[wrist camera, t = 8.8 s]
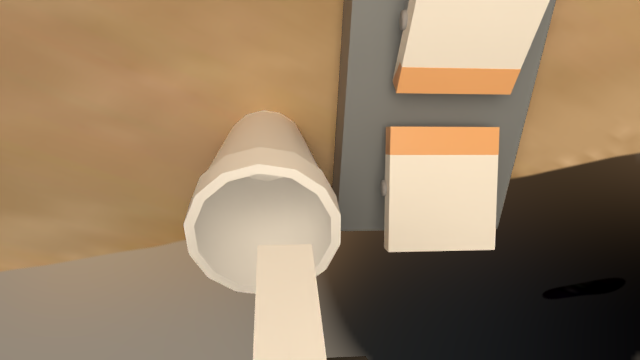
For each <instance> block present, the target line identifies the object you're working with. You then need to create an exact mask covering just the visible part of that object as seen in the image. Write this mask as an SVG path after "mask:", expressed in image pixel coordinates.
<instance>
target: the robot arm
mask: <svg viewBox="0 0 640 360" xmlns="http://www.w3.org/2000/svg"><path fill="white" fill-rule="evenodd" d="M318 297H319V296H318V289H317V282H316V273H315V265H314V257H313V249H312V244H298V245H257V269H256V294H255V319H254V345H253V360H368V359H367V358H366V356H362V357H337V358H326V351H325V343H324V335H323V328H322V320H321V312H320V305H319V298H318Z"/></svg>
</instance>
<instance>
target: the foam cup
mask: <svg viewBox="0 0 640 360" xmlns="http://www.w3.org/2000/svg"><path fill="white" fill-rule="evenodd" d="M184 231H185V236H186V242H187V248H188V252H189V255H190V256H191V257H192V259H193V260H194V261H195V262H196V264H198V266H199V267H200V268H201V270H202V271H203V272H204V273H205V275H206V276H207V277H208V278H210V279H212V280H214V281H216V282H218V283H220V284H222V285H224V286H226V287H228V288H230V289H232V290H234V291H236V292H244V293H253V294H256V269H257V245H298V244H312V249H313V257H314V265H315V273H316V276H317V275H319V274H320V273H322V272H323V271H325V270H326V269H327V267H328V265H329V263H330V261H331V260H332V258H333V256H334V254H335V253H336V251H337V249H338V248H339V246H340V243H341V242H340V241H341V239H340V238H341V237H340V236H341V214H340V210H339V206H338V202H337V197H336V195H335V193H334V191H333V189H332V188H331V186H330V184H329V182H328V181H327V179H326V177H325V175H324V173H323V172H322V170H321V169H319V168H318V166H317V164H316V162H315V160H314V158H313V156H312V154H311V152H310V150H309V148H308V146H307V144H306V142H305V140H304V138H303V136H302V135H301V133H300V131H299V129H298V128H297V126H296V124H295V123H294V122H293V121H292V120H290V119H289V118H287V117H286V116H284V115H283V114H281V113H277V112H271V111H265V110H262V111H258V112H254V113H251V114H247V115H245V116H244V117H243V118H242V119H241V120H240V121H238V122H237V123H236V124H235V125H234V126H233V127H232V129H231V131H230V132H229V134H228V136H227V138H226V139H225V141H224V143H223V144H222V146H221V148H220V150H219V151H218V153H217V155H216V157H215V158H214V160H213V162H212V163H211V165H210V167H209V169H208V170H207V171H206V172H205V173H204V174H202V175H201V176H200V178H199V181H198V183H197V186H196V188H195V191H194V193H193V196H192V199H191V201H190V204H189V207H188V211H187V214H186V218H185V221H184Z"/></svg>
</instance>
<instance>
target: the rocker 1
mask: <svg viewBox="0 0 640 360" xmlns="http://www.w3.org/2000/svg"><path fill="white" fill-rule="evenodd" d="M549 1H550V0H409V3H408V8H407V10H402V11H401V14H400V20H399V26H400V30H403V32H402V37H401V42H400V47H399V52H398V57H397V61H396V66H395V71H394V76H393V84H394V87H395V91H396V93H423V94H505V95H510V94H511V92H512V89H513V87H514V85H515V82H516V80H517V78H518V75H519V73H520V70H521V67H522V65H523V63H524V60H525V58H526V55H527V53H528V51H529V48H530V46H531V44H532V41H533V39H534V36H535V34H536V32H537V29H538V27H539V25H540V22H541V20H542V18H543V15H544V13H545V10H546V8H547V6H548V3H549Z"/></svg>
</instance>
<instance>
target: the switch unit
mask: <svg viewBox="0 0 640 360" xmlns="http://www.w3.org/2000/svg"><path fill="white" fill-rule="evenodd" d="M555 2H556V0H550V1H549V3H548V6H547V8H546V10H545V13H544V15H543V18H542V20H541V22H540V25H539V27H538V29H537V32H536V34H535V36H534V39H533V41H532V44H531V46H530V48H529V51H528V53H527V55H526V58H525V60H524V63H523V65H522V67H521V70H520V73H519V75H518V78H517V80H516V82H515V85H514V87H513V89H512V92H511V94H510V95H505V94H423V93H396V91H395V87H394V84H393V76H394V71H395V66H396V61H397V57H398V52H399V47H400V42H401V37H402V32H403V30H400V26H399V20H400V14H401V11H402V10H407V8H408V3H409V0H344V6H343V22H342V38H341V55H340V71H339V87H338V104H337V120H336V136H335V153H334V169H333V185H332V189H333V191H334V193H335V195H336V197H337V202H338V206H339V210H340V214H341V231H377V230H378V231H379V230H384V216H385V196H382V195H381V189H380V186H381V181H382V180H385V150H386V127H500V129H499V155H498V177H497V204H496V229H497V228H498V224H499V220H500V216H501V212H502V208H503V204H504V201H505V197H506V193H507V188H508V185H509V181H510V177H511V173H512V169H513V166H514V162H515V158H516V154H517V150H518V146H519V142H520V138H521V134H522V130H523V127H524V123H525V119H526V115H527V111H528V107H529V103H530V99H531V95H532V91H533V88H534V84H535V80H536V76H537V72H538V68H539V64H540V60H541V56H542V52H543V49H544V45H545V41H546V37H547V33H548V29H549V25H550V21H551V17H552V14H553V10H554V6H555Z"/></svg>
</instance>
